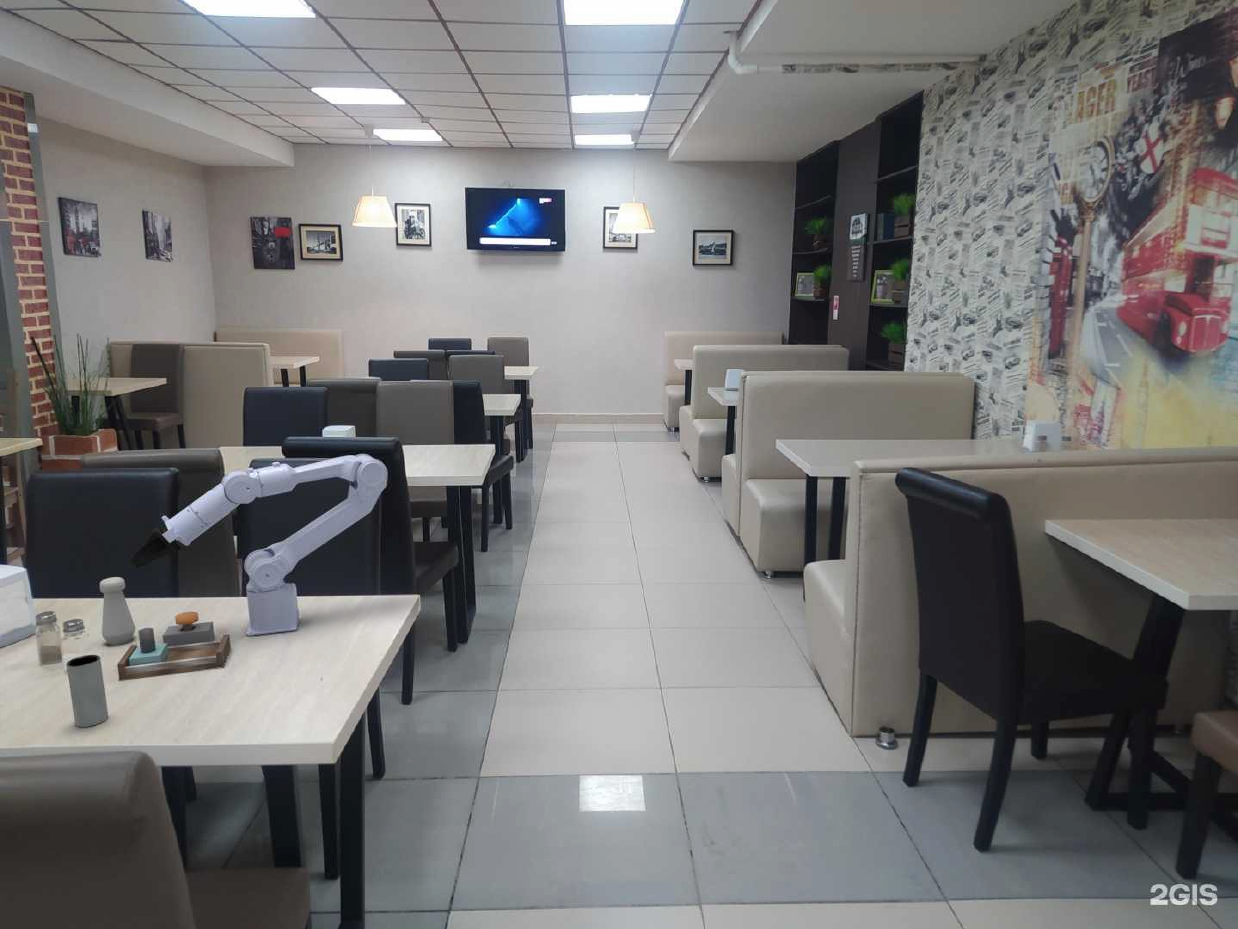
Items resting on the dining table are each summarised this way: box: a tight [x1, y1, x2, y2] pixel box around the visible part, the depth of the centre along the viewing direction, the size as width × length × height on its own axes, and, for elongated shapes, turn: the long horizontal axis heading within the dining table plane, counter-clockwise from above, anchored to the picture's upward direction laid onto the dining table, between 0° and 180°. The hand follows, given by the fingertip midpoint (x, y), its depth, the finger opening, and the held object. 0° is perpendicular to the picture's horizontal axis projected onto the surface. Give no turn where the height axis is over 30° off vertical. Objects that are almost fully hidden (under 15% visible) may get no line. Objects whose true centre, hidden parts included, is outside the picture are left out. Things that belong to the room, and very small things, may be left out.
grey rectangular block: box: [162, 621, 216, 647], centre depth 163 cm, size 8×5×4 cm, turn 107°
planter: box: [65, 654, 109, 728], centre depth 132 cm, size 4×4×10 cm
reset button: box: [174, 611, 200, 631], centre depth 162 cm, size 4×4×4 cm
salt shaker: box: [99, 576, 136, 646], centre depth 165 cm, size 6×6×13 cm
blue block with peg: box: [129, 627, 168, 666], centre depth 153 cm, size 5×6×6 cm
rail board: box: [116, 633, 232, 681], centre depth 154 cm, size 17×9×3 cm, turn 107°
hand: (136, 563), depth 157 cm, fingers open, 7 cm apart
